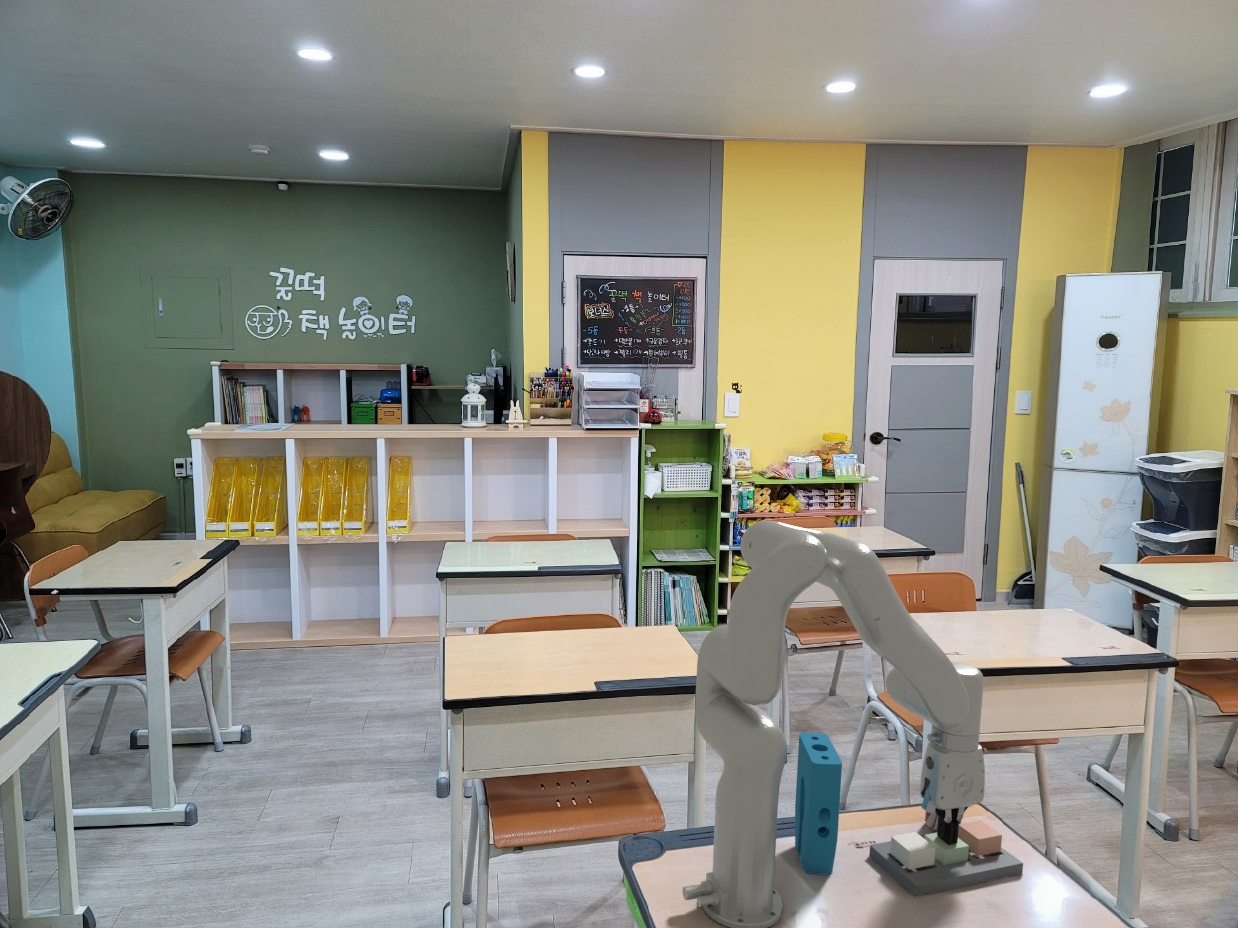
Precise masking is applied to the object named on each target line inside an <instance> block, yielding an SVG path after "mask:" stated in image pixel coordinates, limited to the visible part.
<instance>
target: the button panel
mask: <svg viewBox="0 0 1238 928" xmlns="http://www.w3.org/2000/svg"><path fill="white" fill-rule="evenodd" d="M925 835H926V834H923V835H920V836H921V837H923V838H924V839H925ZM890 848H891V840H889V841H884V842H878V843H873V844H870V845H869V854H868V855H869V857H870V858H871V859H872V860H873V861H874V862H876V863H877V864H878V865H879V866H880V867H881V868H882V869H883V870H884V871H886V873H888V874H889V875H890V876H891V877H892V878H893V879H894V880H895V881H897V882H898V883H899V884H900V885H901V886H902V887H903V888H905V890H906V891H908V892H909V894H911V895H912V896H913V897H915V898H917V897H922V896H925V895H931V894H935V893H940V892H944V891H950V890H954V889H958V888H963V887H968V886H973V885H978V884H981V883H982V884H983V883H987V882H993V881H996V880H1000V879H1005V878H1011V877H1016V876H1020V875H1023V868H1024V862H1023V861H1021V860H1020V859H1018V858H1017V857H1016V856H1014V855H1013V854H1011V852H1009V851H1007V850H1005V849H1004V848H1003V847H1002V846H1001V851H1000V852H995V853H990V854H988V855H989V856H987V857H982V858H978V859H977V858H976V857H975V856H973V855H972V854H971V853H969V852H968V861H967V862H962V863H957V864H952V865H947V866H943V865H942V864H940V863H939V862H938V861H937V860H935V861H934V865H930V866H925V867H923V868H924V869H922V870H918V871H912V872H908V871H907V870H906V869H905V868H904V867H903V866H901V865H900V864H899V863H901V862H900V861H899V860H898V859H897V858H895V857H894V856H893V855H892V854H891V853H890Z"/></svg>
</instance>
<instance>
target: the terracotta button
mask: <svg viewBox="0 0 1238 928" xmlns="http://www.w3.org/2000/svg"><path fill="white" fill-rule="evenodd" d="M1002 837H1003V834H1001V833H1000V832H999V831H997V830H995V829H994V828H993V827H991V826H990V825H989V824H987V823H986V822H984V821H982V820H981V819H979V820H973V821H968V822H961V824H959V829H958V838H959V839H960V840H962V841H963V842H964V843H966V844H967V845H968V846H969V851H970V852H971V853H973V854H974V855H976V856H977V857H980V856H984V855H989V854H990V853H995V852H1000V851H1001V847H1002Z"/></svg>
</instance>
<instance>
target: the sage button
mask: <svg viewBox="0 0 1238 928" xmlns="http://www.w3.org/2000/svg"><path fill="white" fill-rule="evenodd" d="M924 835H925V840H926V841H928V842H929V843H930V844H931V845H933V846H934V847H935V860H937V861H938V862H939V863H940V864H942V865H943V866H947V865H952V864H957V863H962V862H967V861H968V853H969V851H970V850H969V846H968V845H967V844H966V843H964V842H963V841H962V840H960V839H959V838H958V841H957V843H956V844H953V843H952V844H951V845H948V844H947V843H945V842H944V841H943V840H942V839H940V838H939V837H938V836H937V832H933V833H928V834H924Z"/></svg>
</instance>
